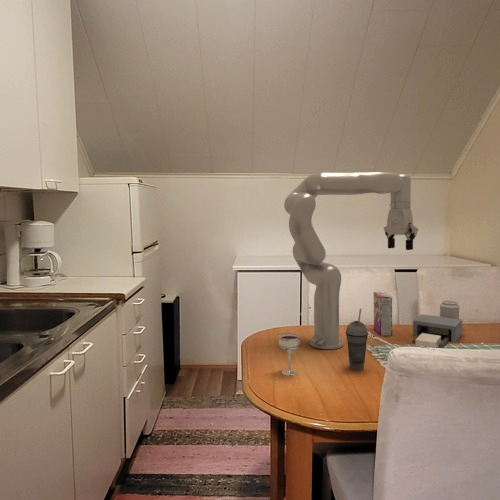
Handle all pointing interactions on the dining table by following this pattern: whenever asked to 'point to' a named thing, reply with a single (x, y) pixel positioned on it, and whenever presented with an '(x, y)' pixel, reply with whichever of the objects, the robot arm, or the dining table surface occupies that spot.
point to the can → (449, 309)
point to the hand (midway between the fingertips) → (400, 248)
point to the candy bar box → (383, 313)
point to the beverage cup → (356, 343)
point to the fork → (381, 340)
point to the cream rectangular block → (428, 340)
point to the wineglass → (289, 348)
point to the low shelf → (438, 327)
